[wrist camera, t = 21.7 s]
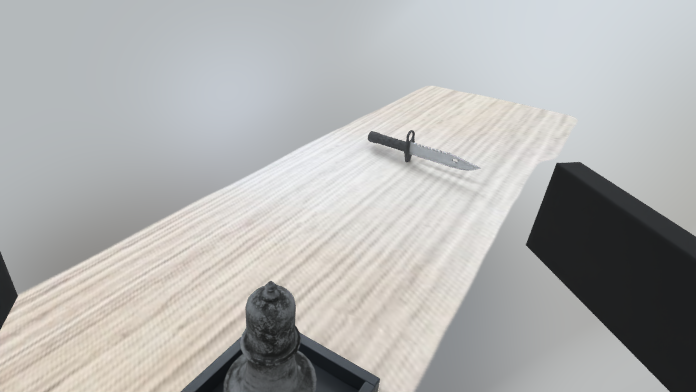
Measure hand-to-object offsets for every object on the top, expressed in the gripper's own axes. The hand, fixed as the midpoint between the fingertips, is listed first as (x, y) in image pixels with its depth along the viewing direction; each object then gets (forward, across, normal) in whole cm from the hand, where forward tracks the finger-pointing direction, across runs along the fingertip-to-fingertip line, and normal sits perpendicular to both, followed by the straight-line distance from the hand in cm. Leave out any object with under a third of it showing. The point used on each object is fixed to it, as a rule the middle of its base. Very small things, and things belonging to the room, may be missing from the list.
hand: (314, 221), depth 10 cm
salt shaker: (+10, 0, -23) cm, 25 cm away
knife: (+46, +27, -23) cm, 58 cm away
